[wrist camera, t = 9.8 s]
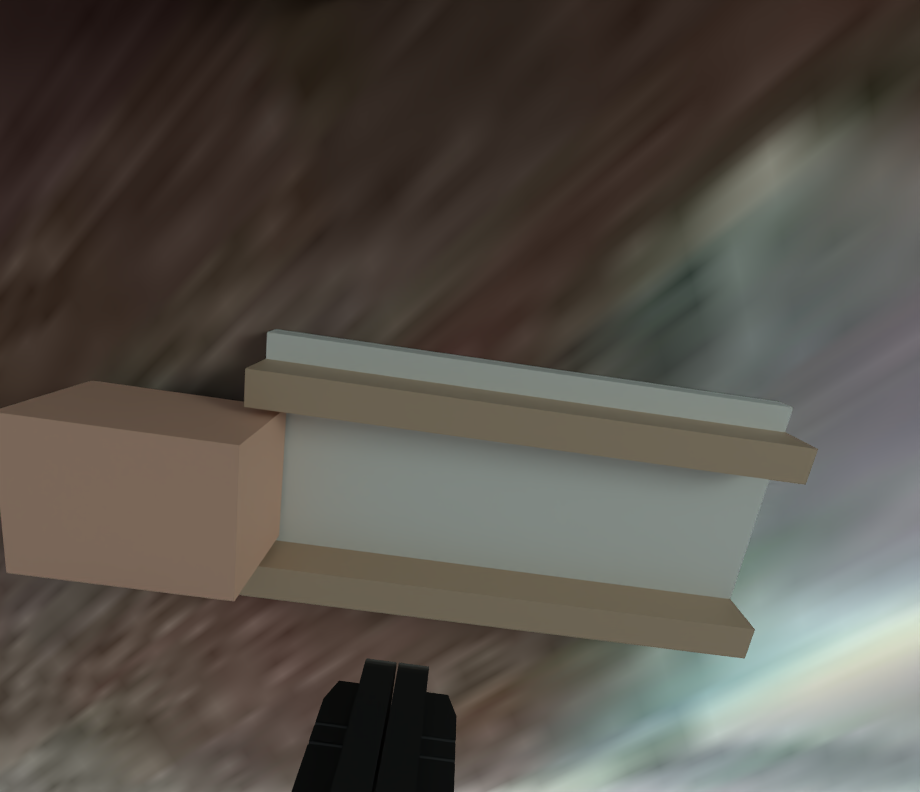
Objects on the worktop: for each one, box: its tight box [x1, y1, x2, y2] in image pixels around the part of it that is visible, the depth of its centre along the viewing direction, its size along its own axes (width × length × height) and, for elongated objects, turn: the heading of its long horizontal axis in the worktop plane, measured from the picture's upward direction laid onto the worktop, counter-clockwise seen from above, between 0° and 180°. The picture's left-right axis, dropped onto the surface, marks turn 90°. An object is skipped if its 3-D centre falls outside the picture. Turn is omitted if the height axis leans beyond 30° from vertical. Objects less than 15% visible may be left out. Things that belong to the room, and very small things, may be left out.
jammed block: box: [0, 381, 286, 601], centre depth 19 cm, size 8×6×4 cm
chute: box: [239, 329, 818, 658], centre depth 21 cm, size 22×12×3 cm, turn 82°
